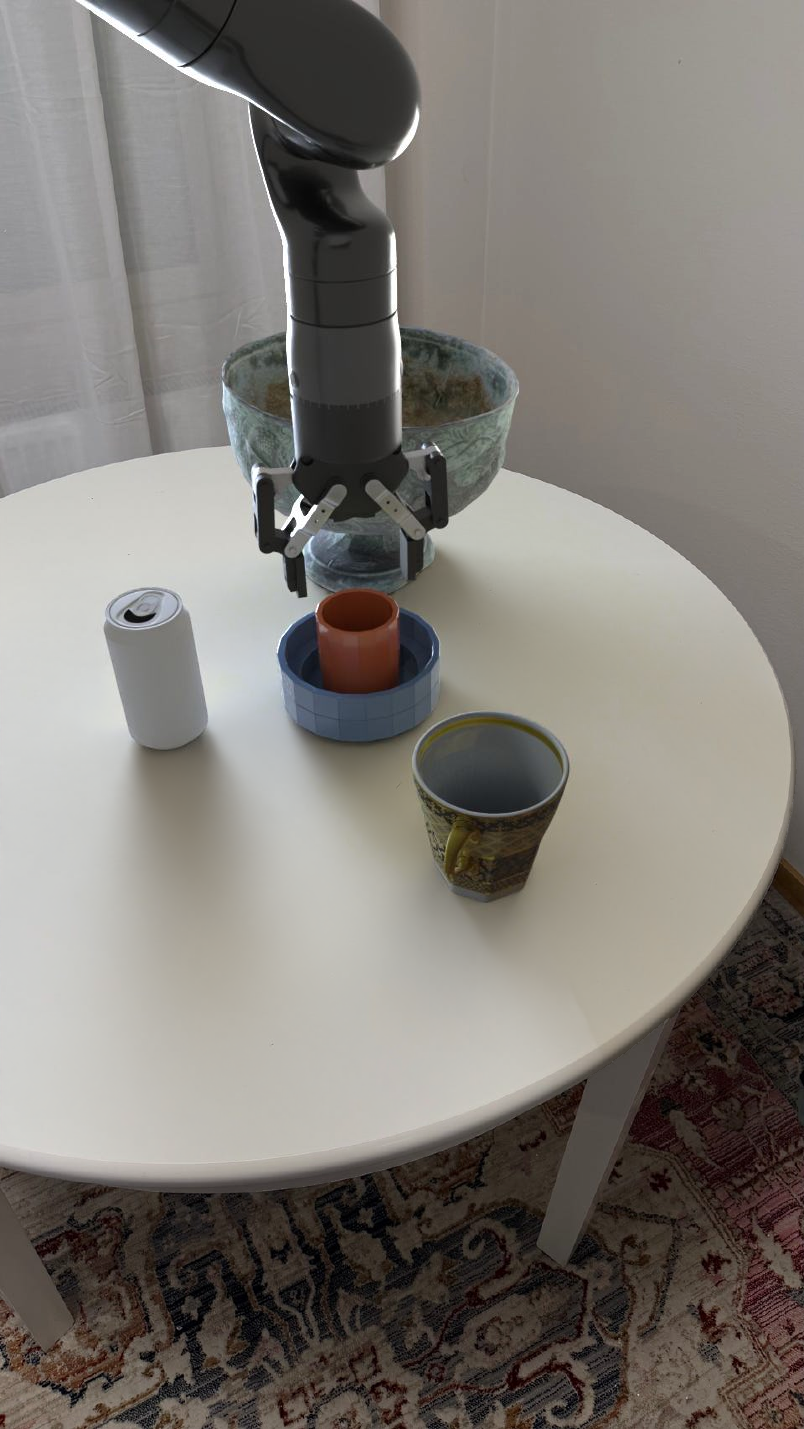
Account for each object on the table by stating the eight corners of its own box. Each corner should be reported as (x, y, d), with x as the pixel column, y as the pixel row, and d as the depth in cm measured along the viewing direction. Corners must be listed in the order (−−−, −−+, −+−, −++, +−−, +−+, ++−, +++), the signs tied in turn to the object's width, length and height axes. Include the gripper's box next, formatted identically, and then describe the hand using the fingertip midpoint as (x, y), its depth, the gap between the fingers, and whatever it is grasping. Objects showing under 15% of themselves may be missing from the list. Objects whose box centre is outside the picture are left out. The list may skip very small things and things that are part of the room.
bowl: (298, 760, 79) (293, 711, 76) (271, 662, 89) (265, 615, 85) (459, 730, 81) (460, 681, 78) (415, 637, 91) (415, 591, 88)
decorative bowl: (185, 547, 103) (159, 353, 90) (375, 472, 116) (378, 294, 103) (349, 672, 88) (348, 463, 75) (546, 571, 101) (574, 378, 88)
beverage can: (116, 749, 80) (83, 625, 72) (150, 699, 85) (123, 578, 77) (191, 761, 79) (165, 637, 71) (221, 709, 84) (200, 588, 76)
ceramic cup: (441, 799, 75) (442, 696, 69) (571, 834, 72) (586, 729, 66) (374, 930, 66) (369, 825, 60) (521, 976, 63) (532, 871, 57)
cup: (331, 720, 82) (325, 640, 76) (315, 673, 86) (308, 595, 81) (408, 706, 83) (407, 627, 78) (389, 660, 88) (386, 582, 82)
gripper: (431, 348, 71) (429, 547, 82) (231, 369, 69) (255, 572, 79) (463, 388, 66) (457, 596, 76) (247, 412, 63) (271, 625, 74)
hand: (354, 584), depth 78 cm, fingers open, 8 cm apart
